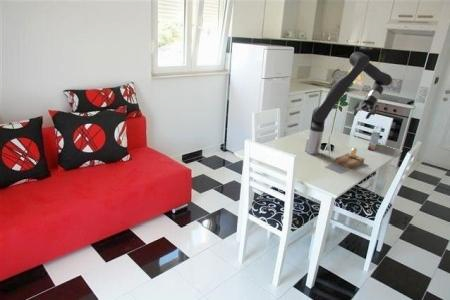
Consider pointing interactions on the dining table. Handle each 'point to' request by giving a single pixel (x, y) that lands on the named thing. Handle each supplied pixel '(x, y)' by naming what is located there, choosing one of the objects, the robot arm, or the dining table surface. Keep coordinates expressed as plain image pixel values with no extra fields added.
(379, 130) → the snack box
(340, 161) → the brown flat lump
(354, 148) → the brass pin
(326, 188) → the dining table surface
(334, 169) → the rubber mat
